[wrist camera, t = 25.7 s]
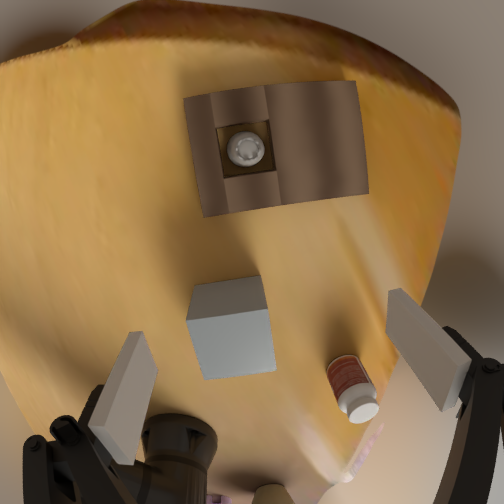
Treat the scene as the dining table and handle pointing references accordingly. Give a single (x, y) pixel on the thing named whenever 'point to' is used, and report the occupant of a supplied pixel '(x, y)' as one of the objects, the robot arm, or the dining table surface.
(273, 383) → the dining table surface
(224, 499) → the clip
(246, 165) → the rook chess piece
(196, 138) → the socket board
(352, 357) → the pill bottle
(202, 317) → the block
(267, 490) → the plant pot
